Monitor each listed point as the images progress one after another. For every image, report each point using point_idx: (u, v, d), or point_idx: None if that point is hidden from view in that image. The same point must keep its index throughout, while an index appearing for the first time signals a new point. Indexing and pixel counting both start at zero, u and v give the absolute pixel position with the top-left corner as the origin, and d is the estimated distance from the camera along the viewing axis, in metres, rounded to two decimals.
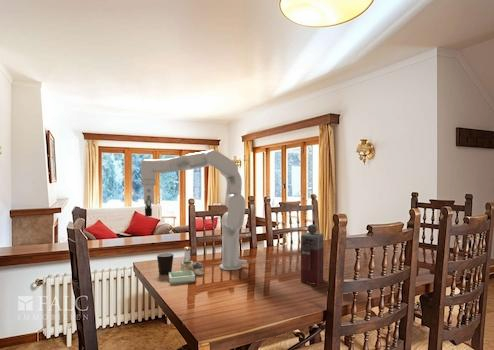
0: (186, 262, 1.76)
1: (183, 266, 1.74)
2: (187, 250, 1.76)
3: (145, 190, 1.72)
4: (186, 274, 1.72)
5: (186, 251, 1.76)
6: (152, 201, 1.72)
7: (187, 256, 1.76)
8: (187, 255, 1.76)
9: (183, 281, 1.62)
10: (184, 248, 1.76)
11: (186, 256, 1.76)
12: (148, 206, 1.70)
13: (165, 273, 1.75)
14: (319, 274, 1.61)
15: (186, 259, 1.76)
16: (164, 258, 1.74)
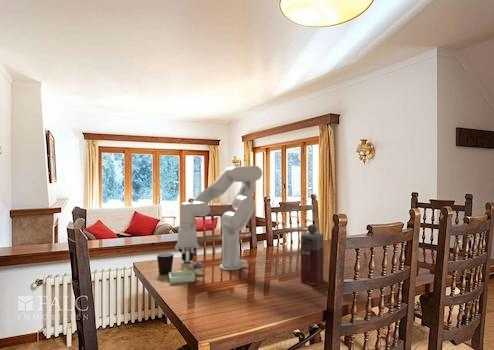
0: (186, 262, 1.76)
1: (183, 266, 1.74)
2: (187, 250, 1.76)
3: (196, 233, 1.77)
4: (186, 274, 1.72)
5: (186, 251, 1.76)
6: None
7: (187, 256, 1.76)
8: (187, 255, 1.76)
9: (183, 281, 1.62)
10: (184, 248, 1.76)
11: (186, 256, 1.76)
12: None
13: (165, 273, 1.75)
14: (319, 274, 1.61)
15: (186, 259, 1.76)
16: (164, 258, 1.74)
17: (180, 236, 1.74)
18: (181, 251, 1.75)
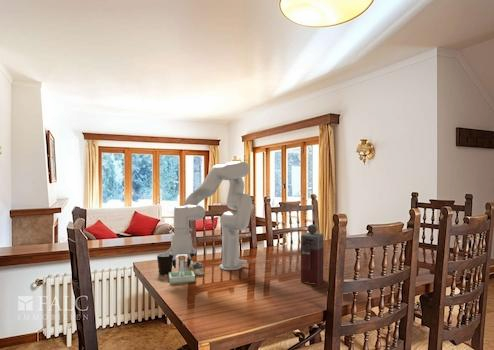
0: (180, 272, 1.65)
1: None
2: (181, 259, 1.65)
3: None
4: (186, 274, 1.72)
5: (180, 260, 1.65)
6: None
7: (181, 265, 1.65)
8: (182, 265, 1.65)
9: (183, 281, 1.62)
10: (178, 257, 1.66)
11: (180, 265, 1.65)
12: None
13: (165, 273, 1.75)
14: (319, 274, 1.61)
15: (180, 269, 1.65)
16: (164, 258, 1.74)
17: (174, 242, 1.64)
18: (172, 257, 1.65)
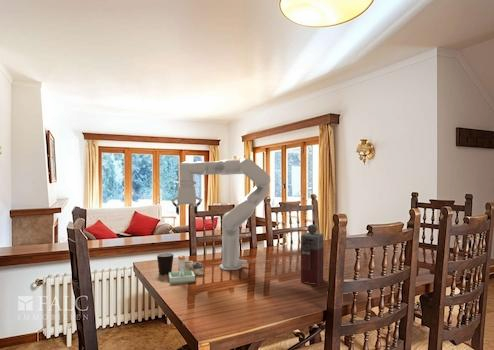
0: (180, 272, 1.65)
1: None
2: (181, 259, 1.65)
3: None
4: (186, 274, 1.72)
5: (180, 260, 1.65)
6: None
7: (181, 265, 1.65)
8: (182, 265, 1.65)
9: (183, 281, 1.62)
10: (178, 257, 1.66)
11: (180, 265, 1.65)
12: None
13: (165, 273, 1.75)
14: (319, 274, 1.61)
15: (180, 269, 1.65)
16: (164, 258, 1.74)
17: (180, 193, 1.85)
18: None
